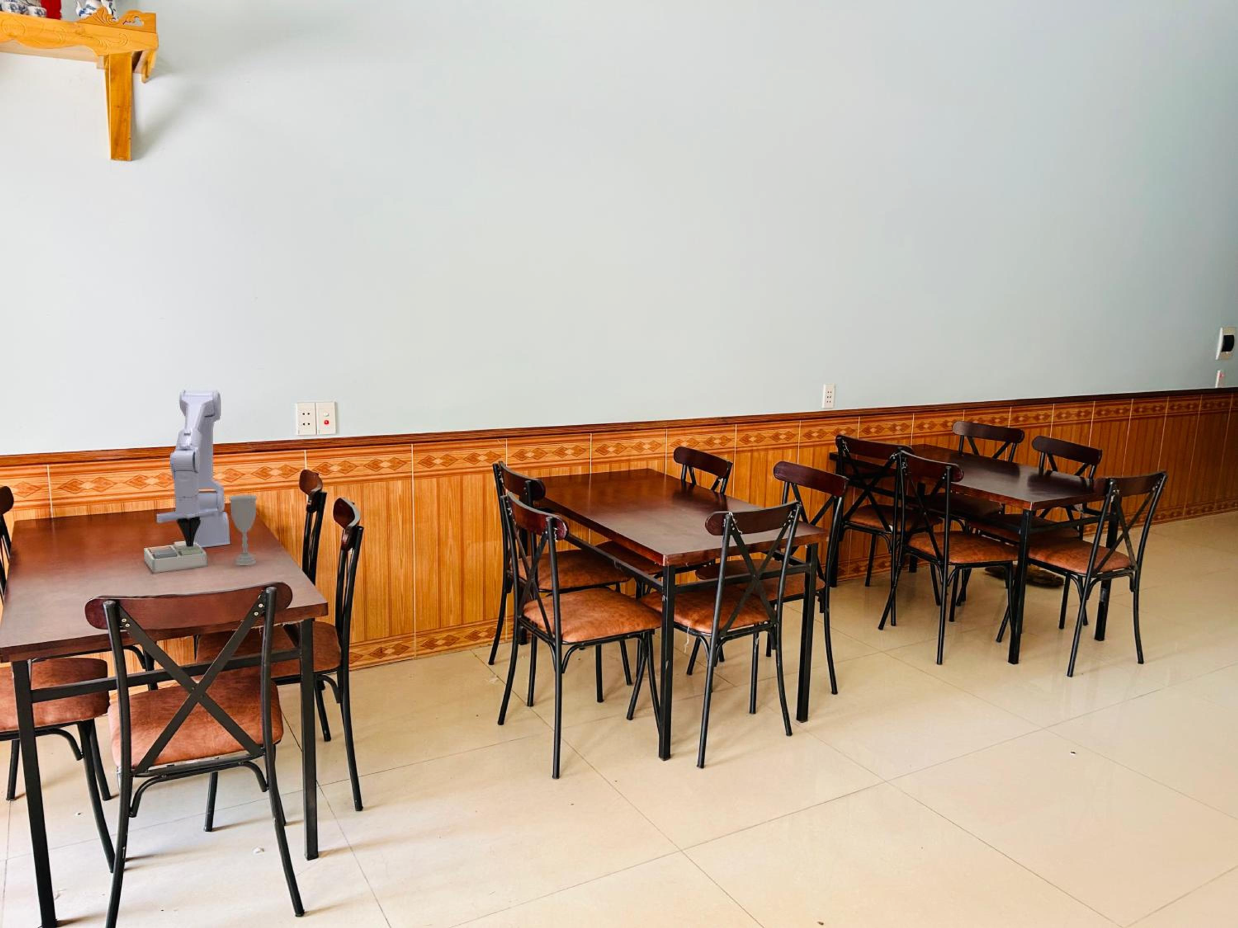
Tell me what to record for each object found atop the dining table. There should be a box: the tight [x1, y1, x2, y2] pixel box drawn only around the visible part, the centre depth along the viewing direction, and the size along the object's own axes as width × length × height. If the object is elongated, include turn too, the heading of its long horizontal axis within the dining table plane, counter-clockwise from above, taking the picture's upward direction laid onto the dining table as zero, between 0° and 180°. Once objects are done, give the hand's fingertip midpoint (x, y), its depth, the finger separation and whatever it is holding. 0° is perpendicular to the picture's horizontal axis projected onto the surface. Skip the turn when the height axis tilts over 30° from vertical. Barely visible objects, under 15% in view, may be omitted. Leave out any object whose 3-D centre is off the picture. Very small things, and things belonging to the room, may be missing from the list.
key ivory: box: [173, 540, 196, 550], centre depth 243 cm, size 5×5×2 cm
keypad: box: [143, 542, 208, 574], centre depth 239 cm, size 13×13×4 cm
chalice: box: [228, 494, 258, 566], centre depth 240 cm, size 7×7×18 cm
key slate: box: [153, 548, 176, 559], centre depth 235 cm, size 5×5×2 cm
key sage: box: [179, 545, 201, 556], centre depth 238 cm, size 5×5×2 cm
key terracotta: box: [148, 545, 170, 553], centre depth 240 cm, size 5×5×2 cm
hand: (189, 545), depth 238 cm, fingers closed
